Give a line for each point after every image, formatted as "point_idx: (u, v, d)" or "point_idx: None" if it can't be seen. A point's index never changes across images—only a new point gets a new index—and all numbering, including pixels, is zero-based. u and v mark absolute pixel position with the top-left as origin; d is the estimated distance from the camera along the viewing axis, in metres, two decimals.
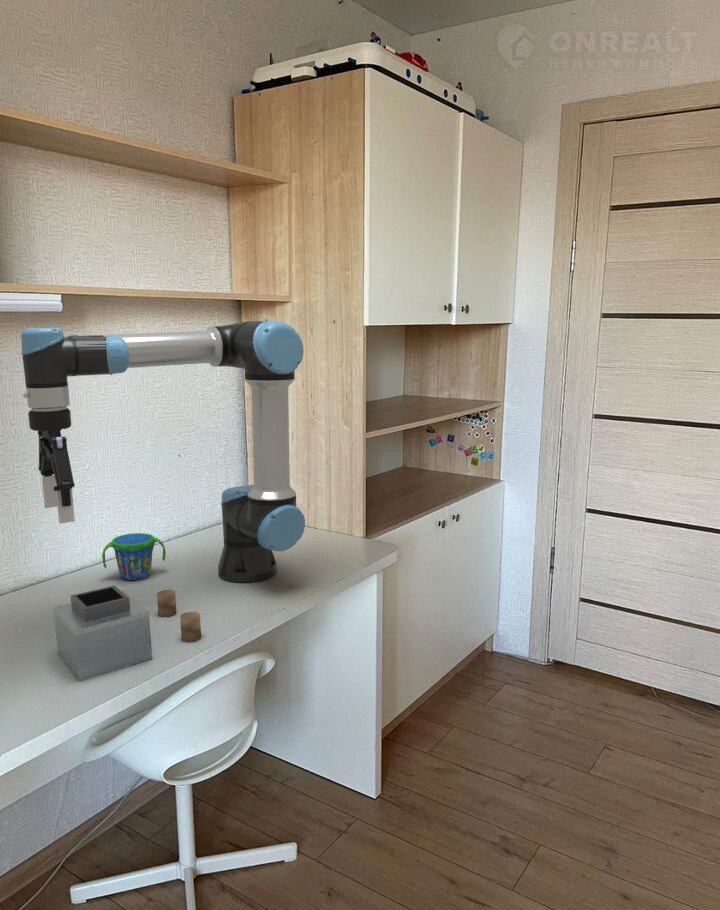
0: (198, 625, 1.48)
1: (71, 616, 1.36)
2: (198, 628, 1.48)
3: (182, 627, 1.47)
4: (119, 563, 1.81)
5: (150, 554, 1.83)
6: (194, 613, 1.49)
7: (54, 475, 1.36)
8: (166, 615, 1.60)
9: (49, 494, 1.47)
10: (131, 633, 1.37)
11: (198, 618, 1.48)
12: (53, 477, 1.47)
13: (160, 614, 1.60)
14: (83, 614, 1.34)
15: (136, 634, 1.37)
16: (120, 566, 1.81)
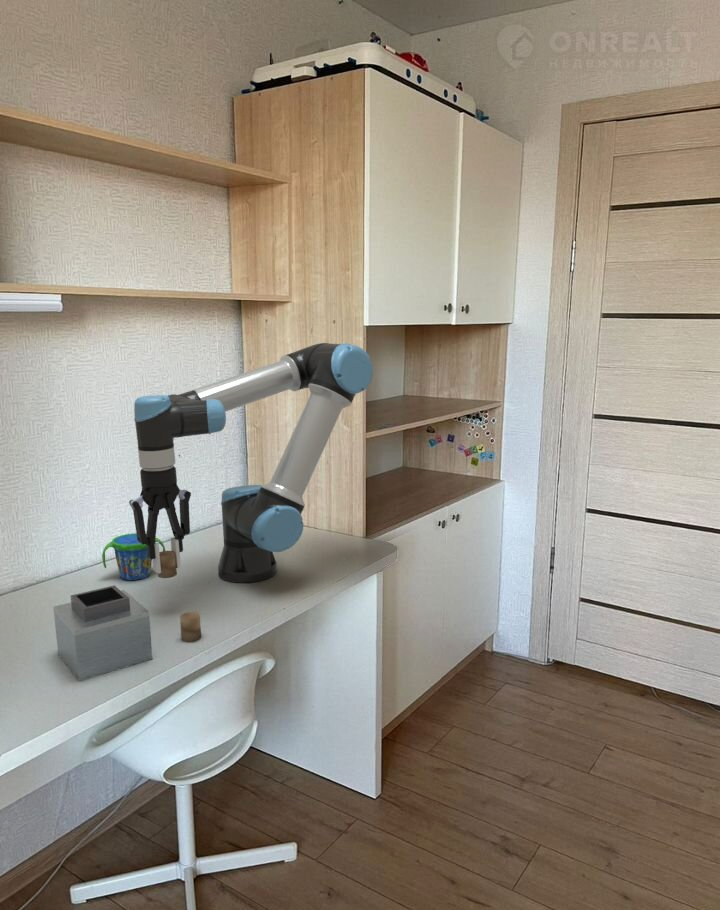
0: (198, 625, 1.48)
1: (71, 616, 1.36)
2: (198, 628, 1.48)
3: (182, 627, 1.47)
4: (119, 563, 1.81)
5: None
6: (194, 613, 1.49)
7: None
8: (166, 576, 1.58)
9: None
10: (131, 633, 1.37)
11: (198, 618, 1.48)
12: (174, 541, 1.59)
13: (160, 575, 1.59)
14: (83, 614, 1.34)
15: (136, 634, 1.37)
16: (120, 566, 1.81)
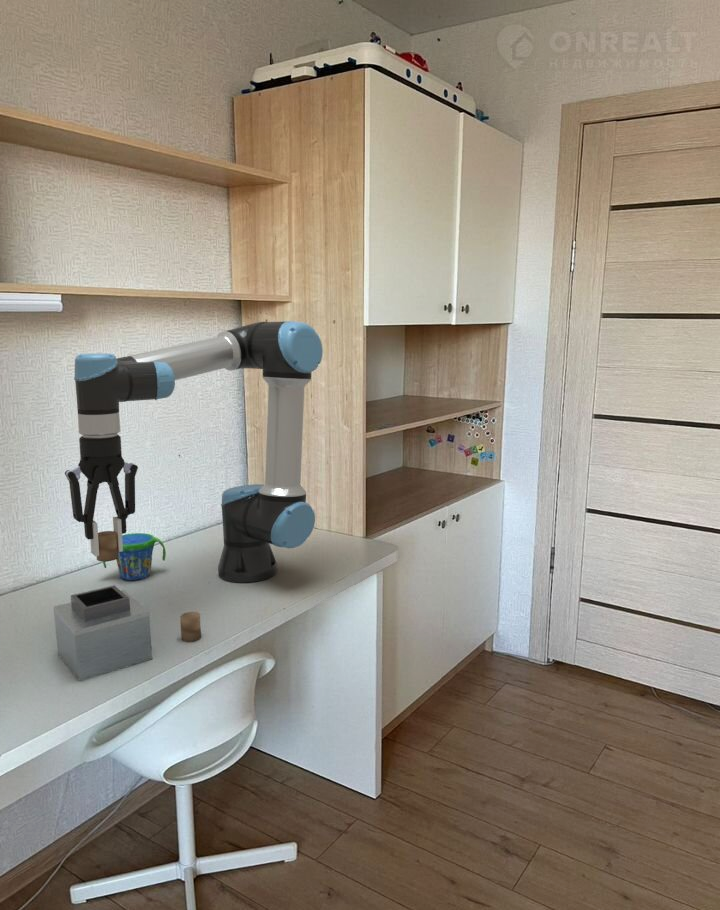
0: (198, 625, 1.48)
1: (71, 616, 1.36)
2: (198, 628, 1.48)
3: (182, 627, 1.47)
4: (119, 563, 1.81)
5: (150, 554, 1.83)
6: (194, 613, 1.49)
7: None
8: (105, 559, 1.39)
9: None
10: (131, 633, 1.37)
11: (198, 618, 1.48)
12: (116, 521, 1.40)
13: (98, 558, 1.40)
14: (83, 614, 1.34)
15: (136, 634, 1.37)
16: (120, 566, 1.81)
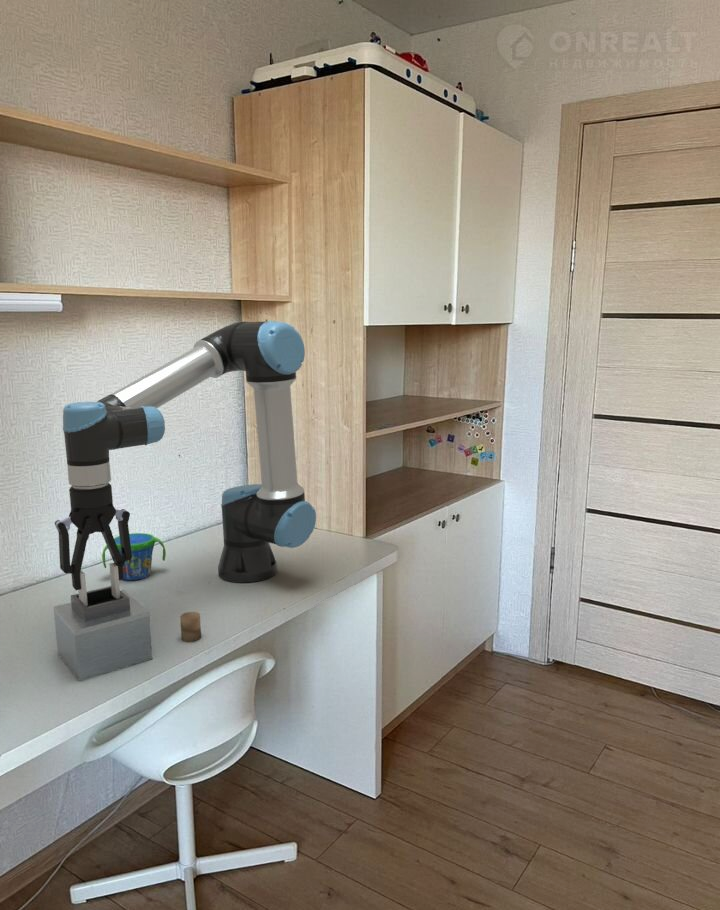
0: (198, 625, 1.48)
1: (71, 616, 1.36)
2: (198, 628, 1.48)
3: (182, 627, 1.47)
4: None
5: (150, 554, 1.83)
6: (194, 613, 1.49)
7: None
8: None
9: (112, 583, 1.41)
10: (131, 633, 1.37)
11: (198, 618, 1.48)
12: (113, 568, 1.39)
13: None
14: (83, 614, 1.34)
15: (136, 634, 1.37)
16: None
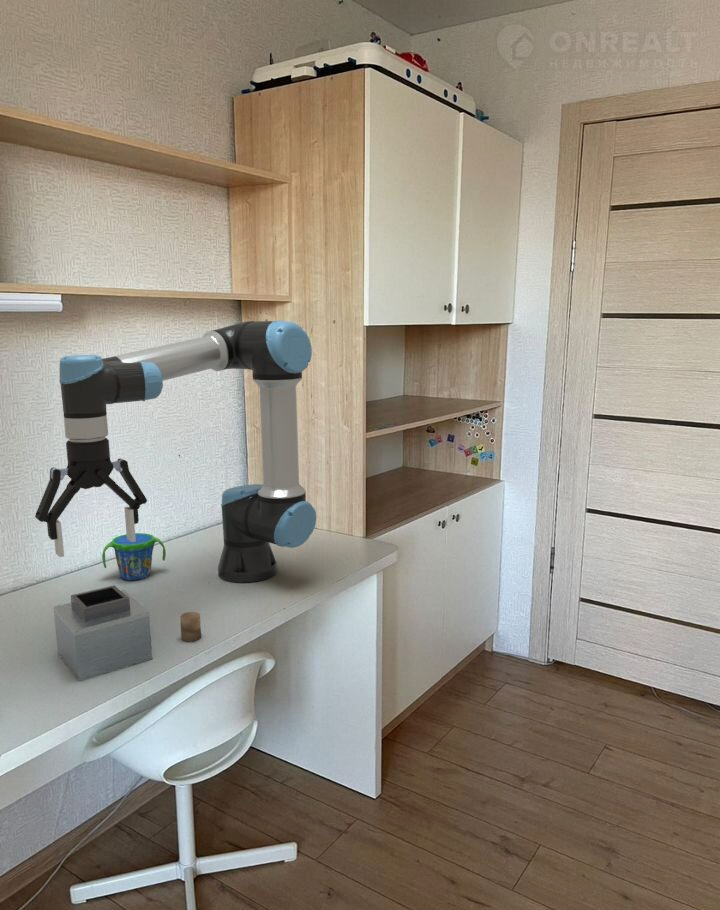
0: (198, 625, 1.48)
1: (71, 616, 1.36)
2: (198, 628, 1.48)
3: (182, 627, 1.47)
4: (119, 563, 1.81)
5: (150, 554, 1.83)
6: (194, 613, 1.49)
7: None
8: None
9: (127, 527, 1.41)
10: (131, 633, 1.37)
11: (198, 618, 1.48)
12: (128, 511, 1.39)
13: None
14: (83, 614, 1.34)
15: (136, 634, 1.37)
16: (120, 566, 1.81)
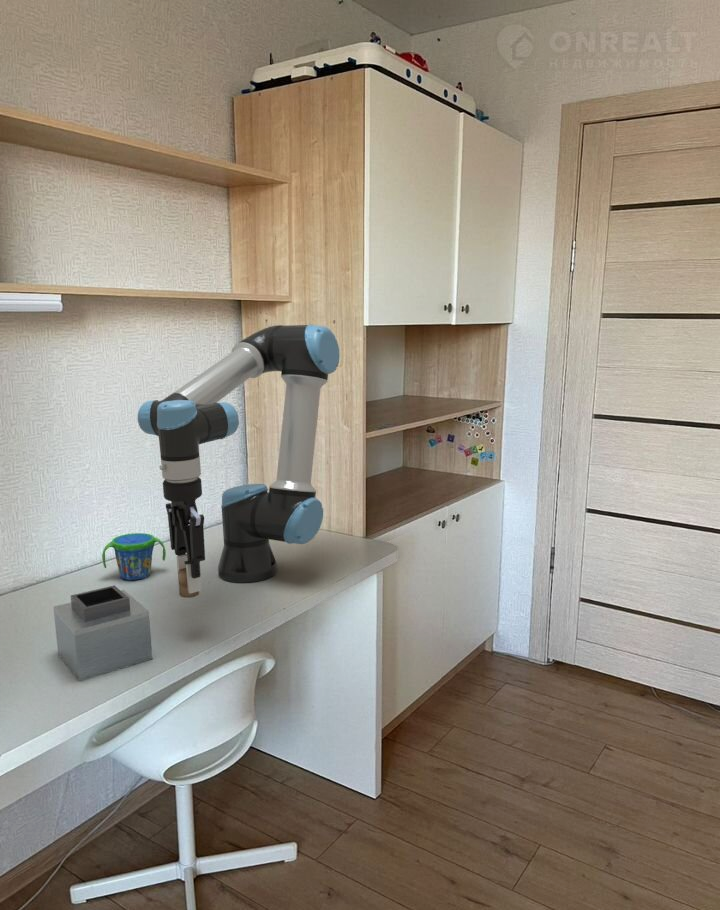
0: None
1: (71, 616, 1.36)
2: None
3: (180, 582, 1.46)
4: (119, 563, 1.81)
5: (150, 554, 1.83)
6: None
7: (185, 546, 1.43)
8: None
9: None
10: (131, 633, 1.37)
11: None
12: None
13: None
14: (83, 614, 1.34)
15: (136, 634, 1.37)
16: (120, 566, 1.81)
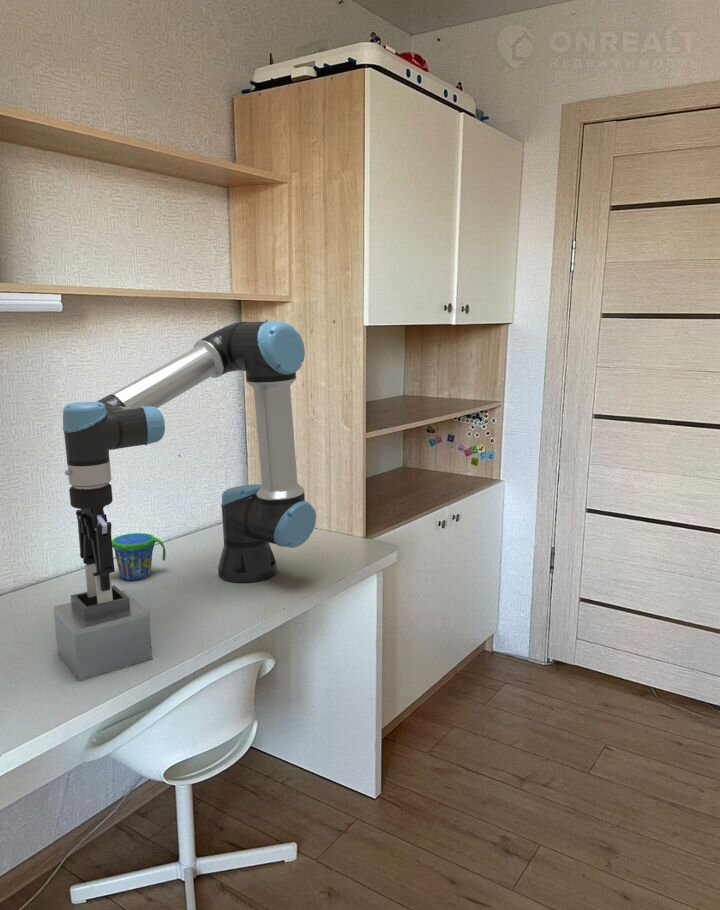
0: None
1: (71, 616, 1.36)
2: None
3: None
4: (119, 563, 1.81)
5: (150, 554, 1.83)
6: None
7: (94, 557, 1.35)
8: None
9: (92, 583, 1.41)
10: (131, 633, 1.37)
11: None
12: None
13: None
14: (83, 614, 1.34)
15: (136, 634, 1.37)
16: (120, 566, 1.81)
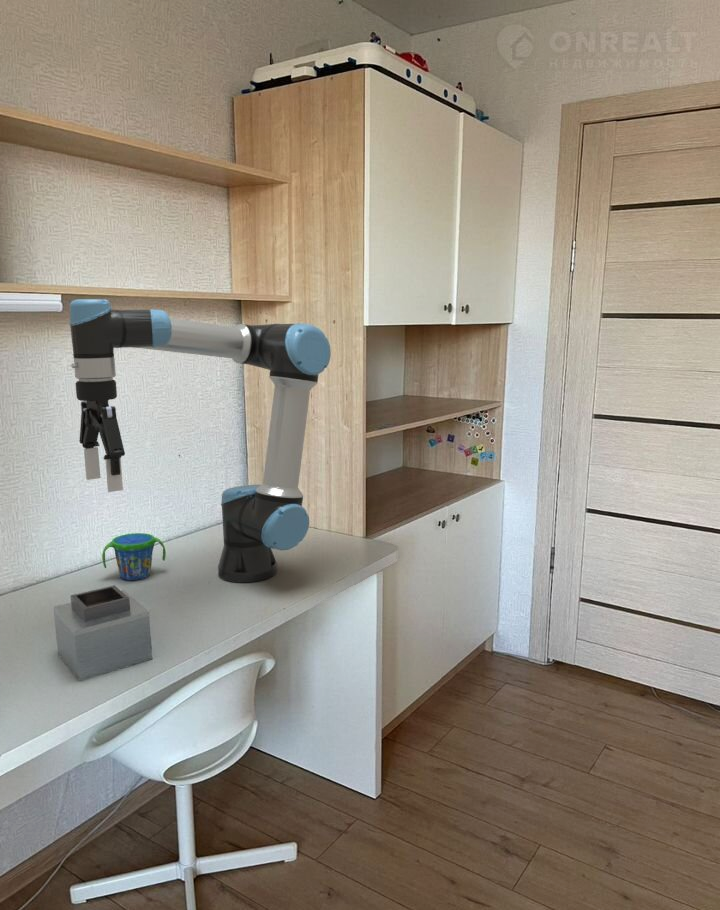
0: None
1: (71, 616, 1.36)
2: None
3: None
4: (119, 563, 1.81)
5: (150, 554, 1.83)
6: None
7: (103, 444, 1.38)
8: None
9: (91, 466, 1.49)
10: (131, 633, 1.37)
11: None
12: (95, 449, 1.49)
13: None
14: (83, 614, 1.34)
15: (136, 634, 1.37)
16: (120, 566, 1.81)
